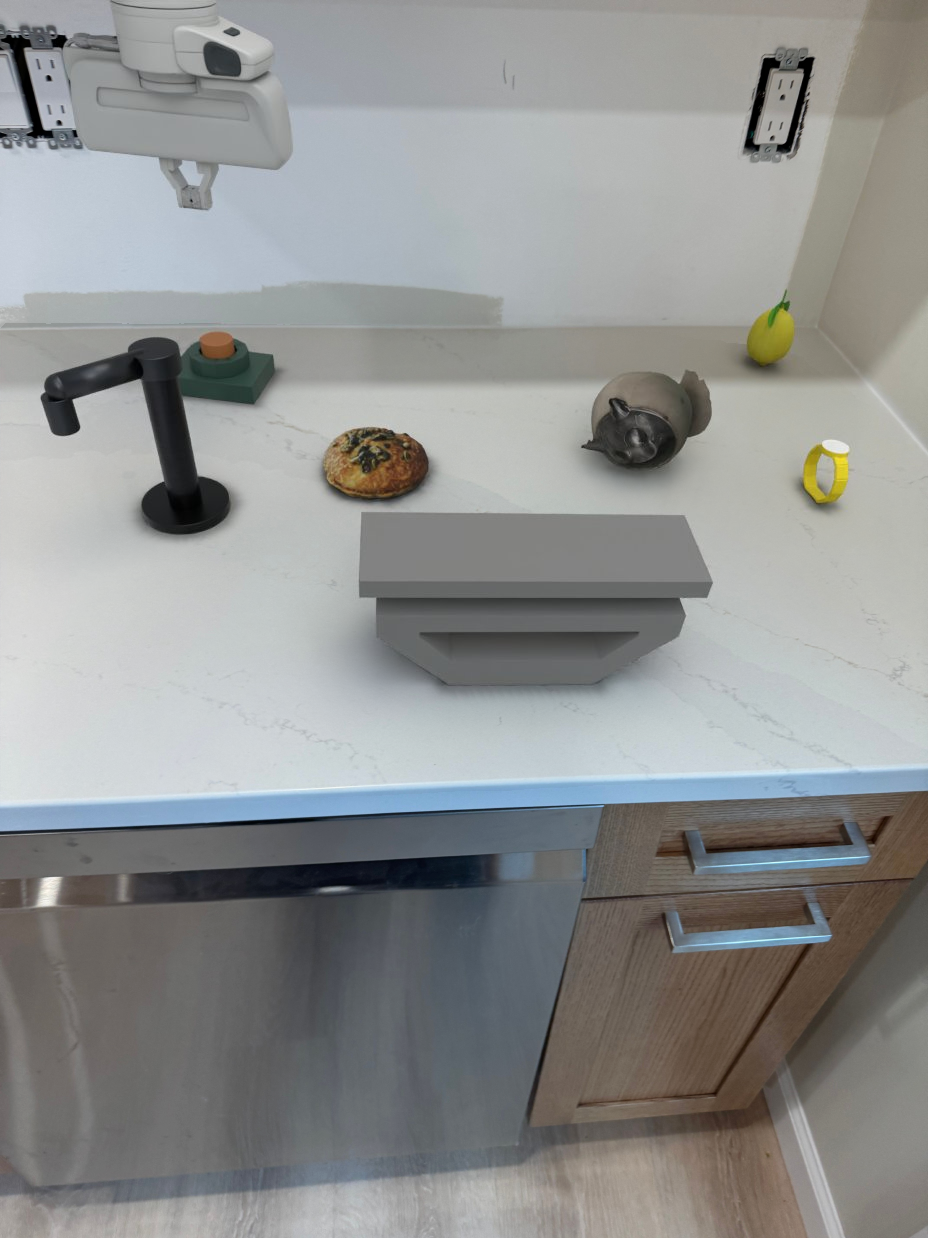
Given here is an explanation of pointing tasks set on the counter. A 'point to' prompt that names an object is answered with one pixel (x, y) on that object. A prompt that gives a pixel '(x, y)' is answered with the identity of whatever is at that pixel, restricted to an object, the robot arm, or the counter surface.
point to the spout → (107, 379)
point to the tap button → (217, 345)
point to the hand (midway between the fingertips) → (196, 207)
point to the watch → (839, 455)
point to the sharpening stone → (528, 591)
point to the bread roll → (375, 463)
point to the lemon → (771, 334)
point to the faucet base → (189, 516)
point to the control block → (225, 374)
